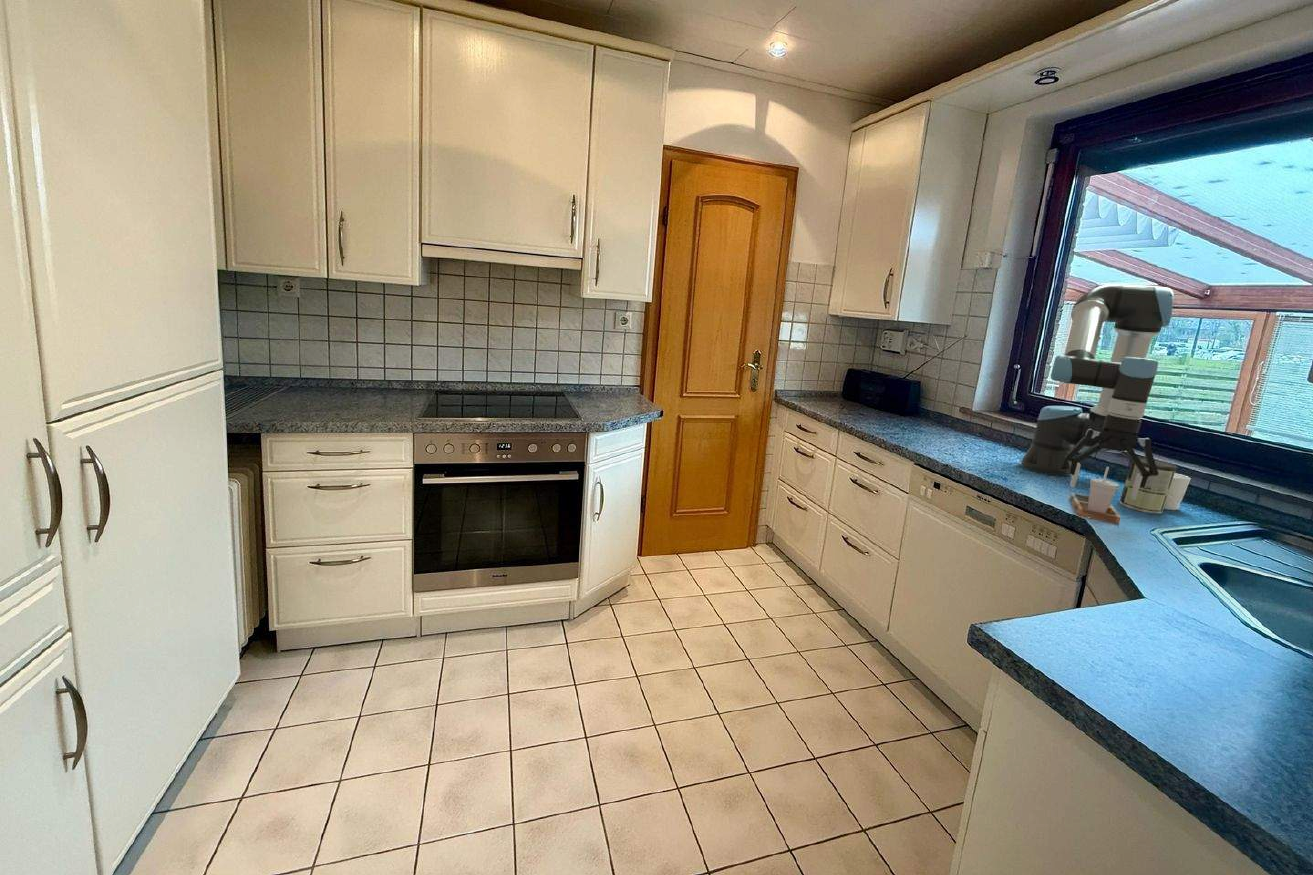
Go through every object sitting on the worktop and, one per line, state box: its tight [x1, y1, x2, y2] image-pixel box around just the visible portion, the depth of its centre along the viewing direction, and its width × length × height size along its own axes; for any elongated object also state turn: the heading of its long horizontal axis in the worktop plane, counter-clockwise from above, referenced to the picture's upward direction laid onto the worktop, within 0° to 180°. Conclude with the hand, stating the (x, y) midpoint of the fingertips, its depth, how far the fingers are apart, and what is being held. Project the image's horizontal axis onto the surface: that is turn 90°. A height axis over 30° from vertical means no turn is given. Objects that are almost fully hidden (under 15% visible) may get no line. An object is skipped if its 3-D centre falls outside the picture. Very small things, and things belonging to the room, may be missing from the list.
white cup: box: [1163, 472, 1191, 511], centre depth 175 cm, size 8×8×10 cm
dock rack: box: [1068, 492, 1122, 525], centre depth 164 cm, size 18×9×2 cm, turn 151°
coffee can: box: [1119, 456, 1178, 515], centre depth 171 cm, size 10×10×14 cm
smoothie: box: [1087, 466, 1120, 513], centre depth 159 cm, size 6×6×14 cm
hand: (1101, 492), depth 159 cm, fingers open, 13 cm apart
